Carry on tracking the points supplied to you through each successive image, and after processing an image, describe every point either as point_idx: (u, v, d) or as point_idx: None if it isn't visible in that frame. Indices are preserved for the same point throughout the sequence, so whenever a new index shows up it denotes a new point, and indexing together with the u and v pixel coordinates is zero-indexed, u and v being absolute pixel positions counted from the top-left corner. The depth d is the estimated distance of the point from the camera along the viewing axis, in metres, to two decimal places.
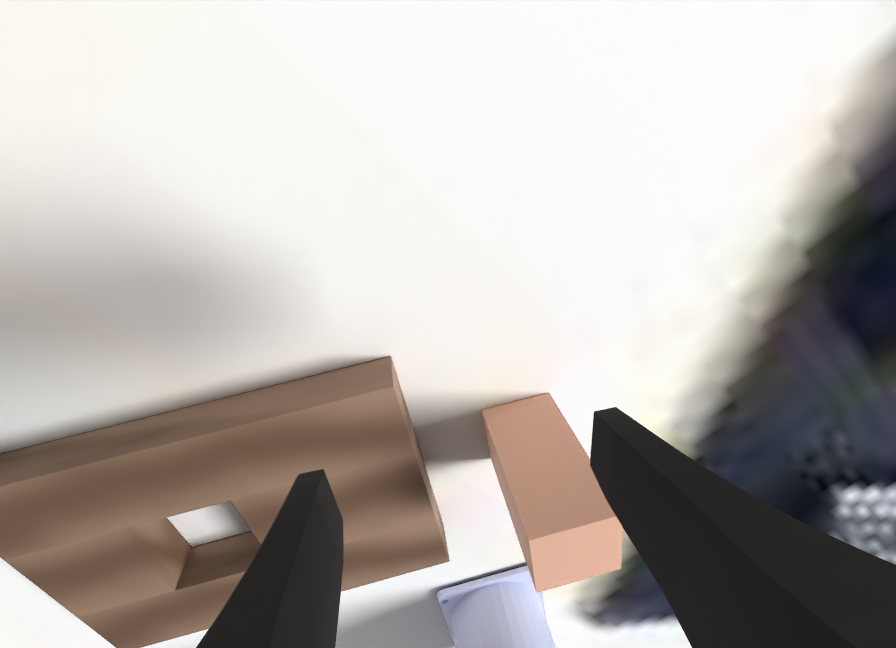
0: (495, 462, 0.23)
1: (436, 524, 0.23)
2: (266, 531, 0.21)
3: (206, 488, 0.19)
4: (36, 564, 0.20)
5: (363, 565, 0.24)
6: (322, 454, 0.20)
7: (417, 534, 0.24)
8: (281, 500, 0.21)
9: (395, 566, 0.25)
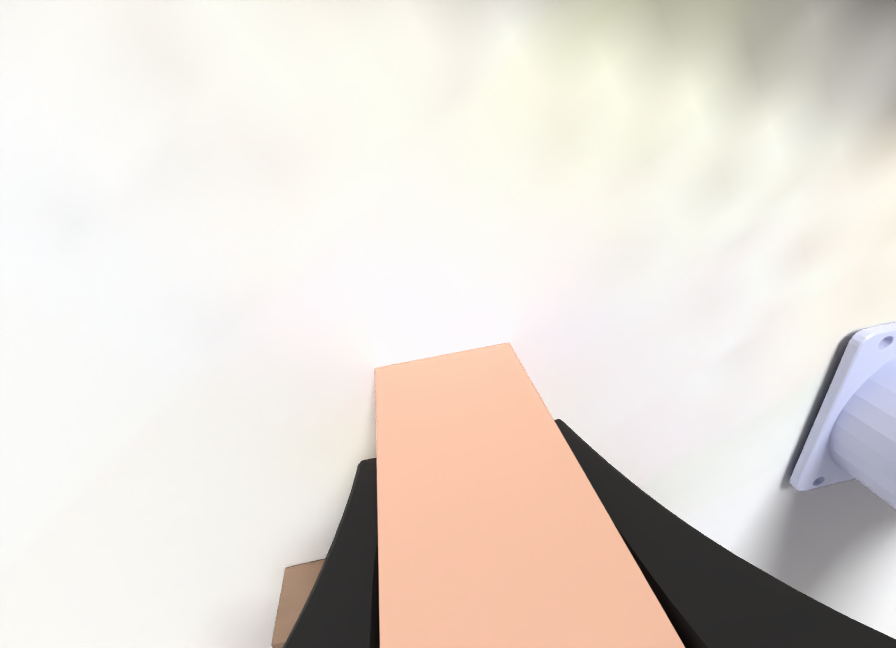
0: None
1: None
2: None
3: None
4: None
5: None
6: None
7: None
8: None
9: None
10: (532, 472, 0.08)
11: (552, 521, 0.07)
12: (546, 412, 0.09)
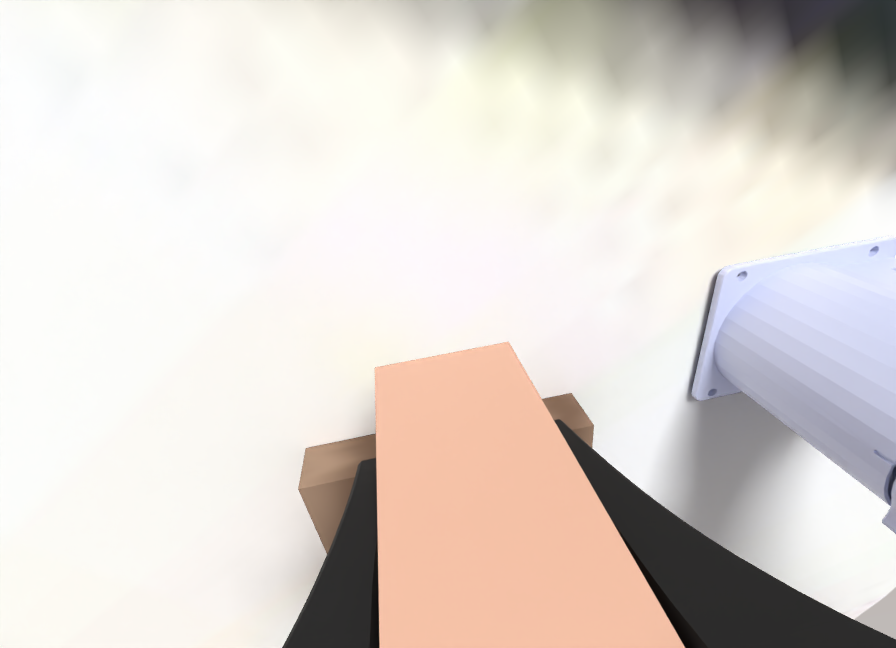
0: None
1: None
2: None
3: None
4: None
5: None
6: None
7: None
8: None
9: None
10: (530, 470, 0.08)
11: (550, 519, 0.07)
12: (545, 411, 0.09)
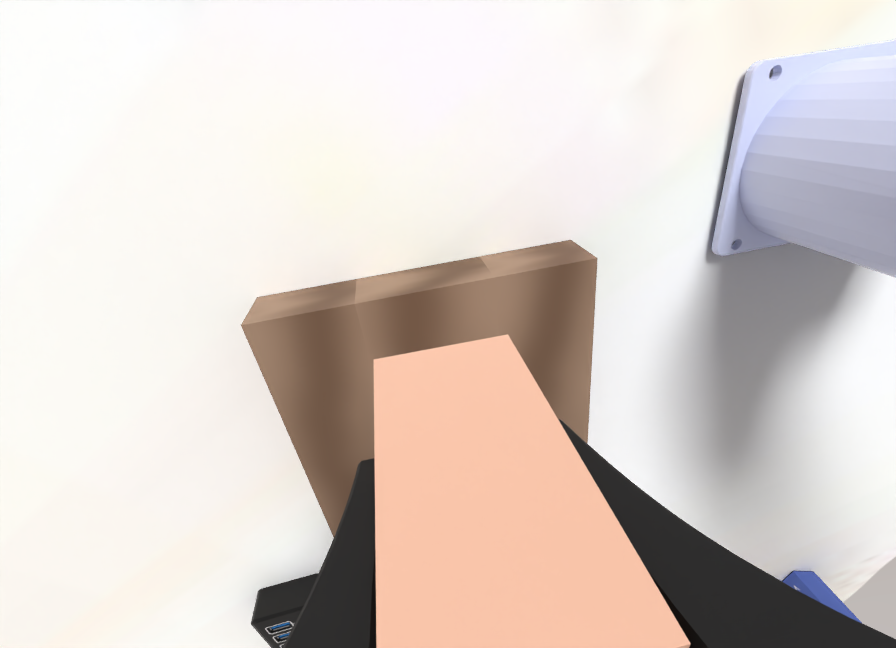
0: None
1: (505, 277, 0.16)
2: None
3: None
4: None
5: (551, 366, 0.19)
6: (345, 396, 0.18)
7: (516, 301, 0.17)
8: None
9: (572, 330, 0.18)
10: (529, 459, 0.08)
11: (549, 508, 0.07)
12: (544, 402, 0.09)
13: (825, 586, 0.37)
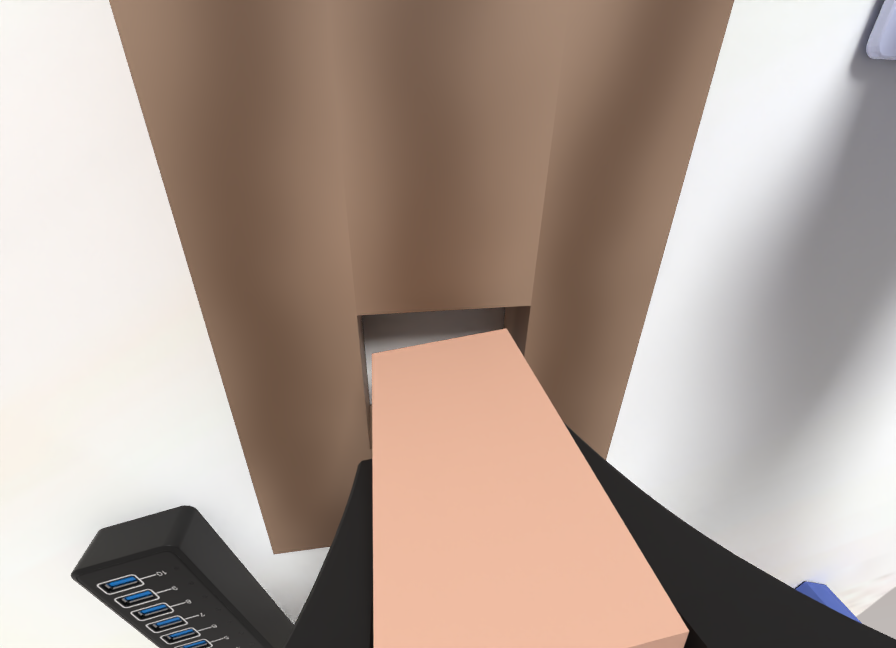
0: None
1: None
2: (449, 291, 0.13)
3: (319, 335, 0.12)
4: None
5: (628, 160, 0.12)
6: (278, 130, 0.10)
7: None
8: (381, 243, 0.11)
9: (675, 93, 0.11)
10: (528, 451, 0.08)
11: (547, 497, 0.07)
12: (543, 394, 0.09)
13: (840, 602, 0.32)
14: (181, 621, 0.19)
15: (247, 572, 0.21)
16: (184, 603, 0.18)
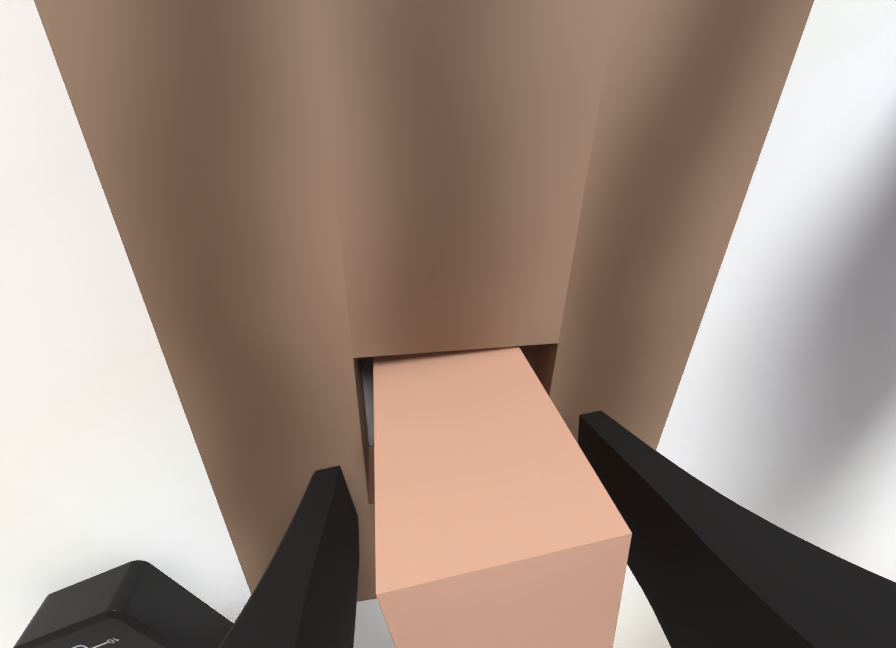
0: None
1: None
2: (463, 328, 0.10)
3: (308, 381, 0.10)
4: None
5: (681, 174, 0.10)
6: (253, 139, 0.08)
7: None
8: (382, 275, 0.09)
9: (743, 92, 0.09)
10: (509, 406, 0.09)
11: (524, 441, 0.08)
12: (525, 362, 0.11)
13: None
14: None
15: (227, 621, 0.19)
16: None
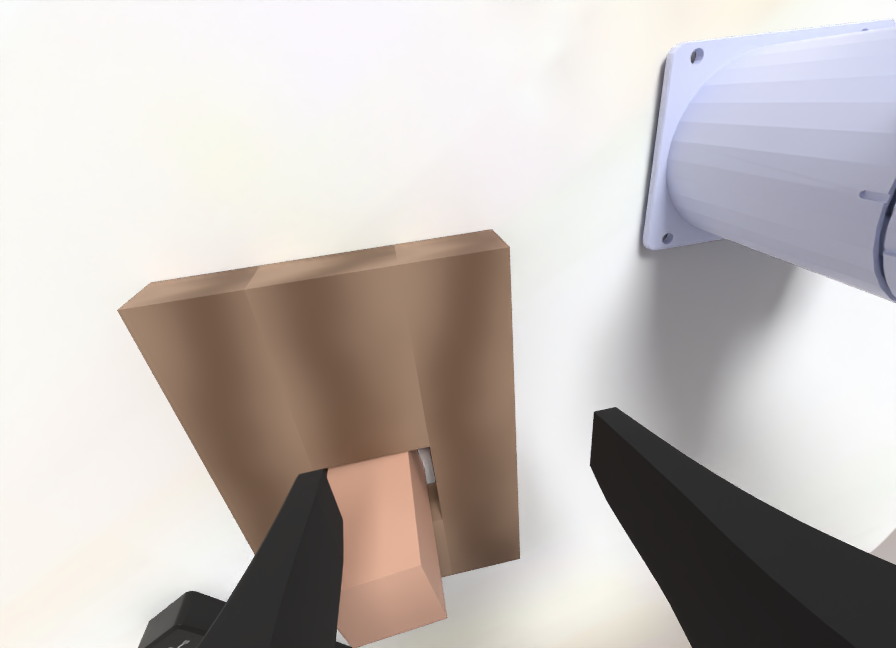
0: None
1: (410, 264, 0.15)
2: (371, 448, 0.19)
3: (291, 484, 0.19)
4: None
5: (470, 362, 0.18)
6: (244, 390, 0.16)
7: (425, 292, 0.16)
8: (319, 432, 0.18)
9: (490, 324, 0.17)
10: (390, 495, 0.18)
11: (391, 518, 0.17)
12: (407, 462, 0.19)
13: None
14: None
15: None
16: None
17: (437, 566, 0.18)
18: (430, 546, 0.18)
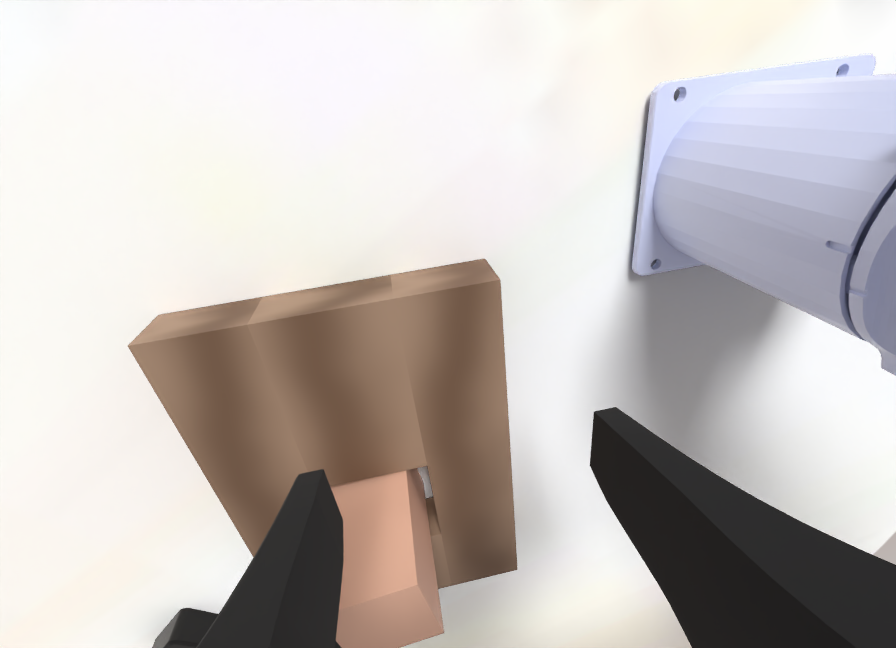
0: None
1: (405, 298, 0.16)
2: (370, 468, 0.20)
3: None
4: None
5: (464, 387, 0.18)
6: (248, 417, 0.17)
7: (420, 323, 0.16)
8: (320, 454, 0.19)
9: (482, 351, 0.18)
10: (389, 515, 0.18)
11: (390, 537, 0.17)
12: (405, 482, 0.20)
13: None
14: None
15: None
16: None
17: (435, 582, 0.19)
18: (428, 563, 0.19)
